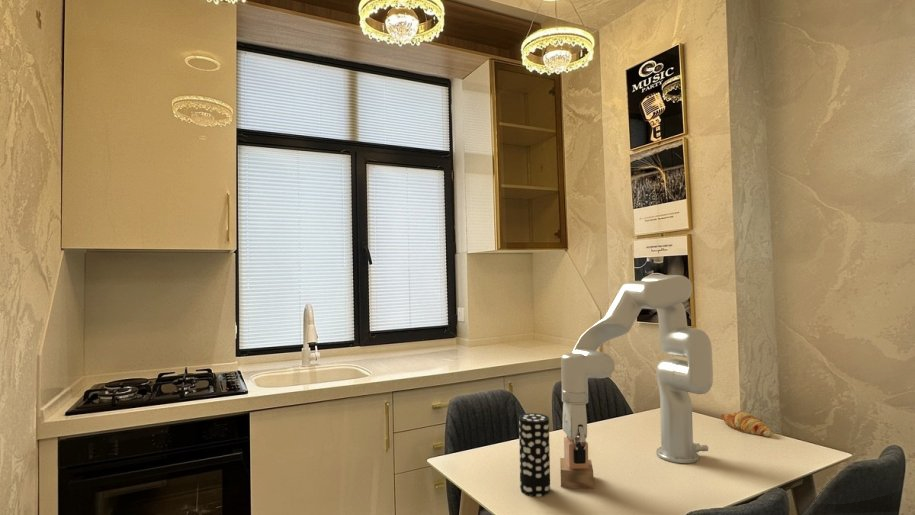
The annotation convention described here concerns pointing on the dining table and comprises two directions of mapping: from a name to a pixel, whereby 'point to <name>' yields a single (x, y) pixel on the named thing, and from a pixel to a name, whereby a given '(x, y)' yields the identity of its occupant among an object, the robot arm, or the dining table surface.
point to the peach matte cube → (569, 454)
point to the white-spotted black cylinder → (534, 454)
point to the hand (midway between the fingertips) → (576, 457)
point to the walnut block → (576, 476)
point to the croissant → (746, 423)
